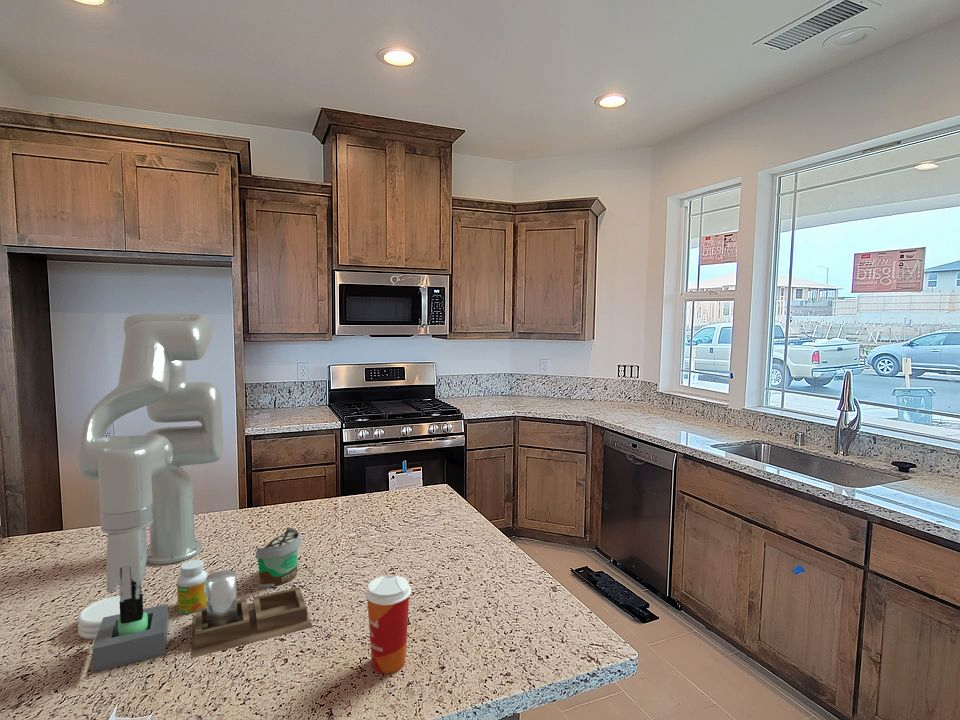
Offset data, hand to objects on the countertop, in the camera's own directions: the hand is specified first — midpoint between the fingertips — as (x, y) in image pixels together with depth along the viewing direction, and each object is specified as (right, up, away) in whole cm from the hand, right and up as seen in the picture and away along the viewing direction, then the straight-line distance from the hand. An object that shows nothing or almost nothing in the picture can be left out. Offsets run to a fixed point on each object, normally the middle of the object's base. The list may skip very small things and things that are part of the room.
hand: (132, 619), depth 92 cm
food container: (+17, -4, +26) cm, 31 cm away
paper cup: (+45, -7, -2) cm, 46 cm away
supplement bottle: (+3, -5, +14) cm, 15 cm away
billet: (+13, -5, +6) cm, 15 cm away
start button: (0, -5, +1) cm, 5 cm away
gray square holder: (0, -6, +1) cm, 6 cm away
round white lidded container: (-10, -6, +9) cm, 15 cm away
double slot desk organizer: (+17, -6, +9) cm, 20 cm away
